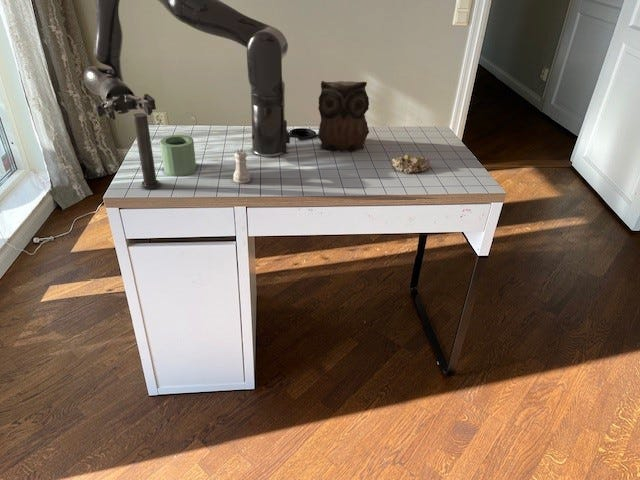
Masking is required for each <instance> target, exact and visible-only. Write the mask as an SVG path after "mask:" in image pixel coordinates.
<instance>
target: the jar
mask: <svg viewBox="0 0 640 480" xmlns="http://www.w3.org/2000/svg"><path fill="white" fill-rule="evenodd" d="M159 143H160V151H161V158H162V159H161V160H162V165H163V172H164V173H165V174H167V175H168V176H174V177H183V176H187V175H190V174H192V173H195V172H196V170H197V161H196V160H197V159H196V152H195V150H196V149H195V142H194V138H193V137H192V136H189V135H184V134H173V135H168V136H164V137H162V138H161V139H160V141H159Z"/></svg>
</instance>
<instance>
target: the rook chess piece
mask: <svg viewBox="0 0 640 480" xmlns="http://www.w3.org/2000/svg"><path fill="white" fill-rule="evenodd" d="M234 157H235V164H236V165H235V170H234V173H233V175H232V177H233V178H232V180H233V181H234V183H235V184H240V185H244V184H247V183H249V182H250V181H251V173H250V172H249V170H248V167H247V159H246V158H247V157H248V153H247V151H246V150H245V149H236V150H235V153H234Z"/></svg>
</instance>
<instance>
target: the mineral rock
mask: <svg viewBox="0 0 640 480" xmlns="http://www.w3.org/2000/svg"><path fill="white" fill-rule="evenodd" d="M391 161H392V166H393V167H394V168H395V170H396V171H398V172H401V173H406V174H411V173H418V172H425V171H426V170H427V169H429V167H430V163H431V162H430V161H429V159H428V158H425V157H419V156H411V154H408V153H407V154H404V157H402V156H399V157H396V158H392V159H391Z"/></svg>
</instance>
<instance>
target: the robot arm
mask: <svg viewBox="0 0 640 480" xmlns="http://www.w3.org/2000/svg"><path fill="white" fill-rule="evenodd" d="M120 1H121V0H94V5H95V32H94V42H93V43H94V44H93V58H94V59H95V60H96V61H97V62H98V63H99V64H102V65H105V66H107V67H104V66H103V67H102V66H94V65H92V66H89V67H87V68H86V69H85V71H84V73H83V82H84V85H85V87H86V88H87V89H88V91H90V93H93V94H94V95H97V96H99V97H100V98H101V100H99V99H93V107H94V110H95V114H96V115H97V117H103V116H104V115H105V117H107V118H108V119H111V121H115V120H116V115H117V114H119V115H124V114H128V113H129V112H132V111H133V112H137V113H141V112H142V111H143V112H144V113H145V114H147V116H151V115H152V114H153V113H154V112H153V111H155V110H157V106H156V99H155V98H153V96H151V95H150V94H148V93H145V94H143V97H139V96H137V95H135V94H134V92H133V91H132V89H131V88H130V87H129V86H128V85H127V84H126V83H125V82H124V76H123V72H122V65H121V64H122V63H121V62H122V61H121V60H122V59H121V58H122V49H123V39H124V34H123V33H124V32H123V26H122V23H121V19H120V11H119V9H120ZM157 1H158V2H159V3H160V4H161V5H162V6H163V7H164V8H165V10H166V11H167V12H169V14H170V15H171V16H172V17H173V18H175V19H176V20H178V21H179V22H181V23H183V24H185V25H186V26H189V27H191V28H192V29H194V30H197V31H199V32H202V33H204V34H208V35H211V36H215V37H219V38H223V39H226V40H227V39H228V40H231V41H233V42H235V43H236V44H237V43H238V44H240V45H241V46H243V47H245V48H246V66H247V67H246V68H247V80H248V83H249V86H250V105H251V107H250V108H251V110H250V111H251V144H252V148H251V151H252V153H253V154H255V155H256V156H260V157H264V158H265V157H266V158H272V157H277V156H278V157H279V156H281V155H283V154H287V145H288V144H289V145H290V144H291V138H296V139H297V140H299V141H305V140H311V139H315V138H319V137H318V133H316V134H313V135H309V136H303V137H301V136H300V135H299V134H291V133H290V132H289V130H288V122H287V120H286V118H285V117H286V116H285V110H286V109H285V107H286V106H285V105H286V104H285V102H286V101H285V97H286V96H285V95H286V94H285V93H286V86H285V85H286V84H285V81H284V80H283V59H284V58H285V57H286V55H287V53H288V49H289V42H288V40H287V38H286V35H285V34H284V33H283V32H282V30H279V29H278V28H277V27H274V26H272V25H270V24H267V23H264V22H262V21H260V20H257V19H255V18H252V17H250V16H247V15H245V14H244V13H241V12H240V11H238V10H237V9H235V8H233V7H231V6H230V5H228V4H227V3H225V2H223V1H222V0H157Z"/></svg>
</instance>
